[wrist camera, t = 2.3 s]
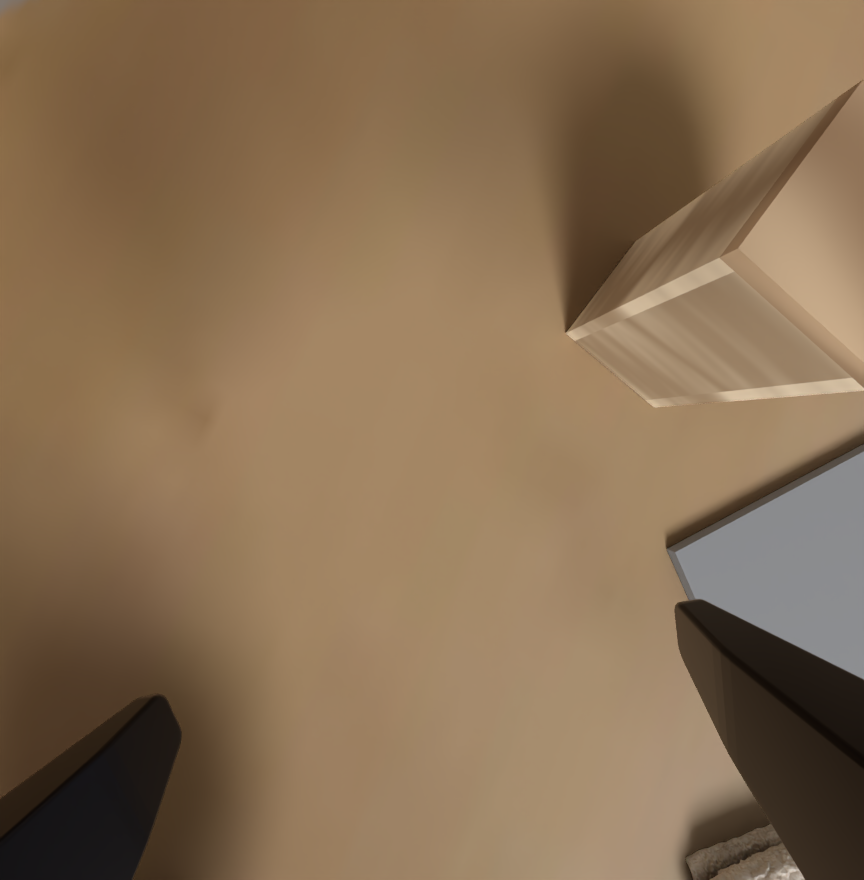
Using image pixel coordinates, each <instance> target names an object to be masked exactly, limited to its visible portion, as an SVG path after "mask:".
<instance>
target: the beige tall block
mask: <svg viewBox="0 0 864 880" xmlns="http://www.w3.org/2000/svg"><path fill="white" fill-rule="evenodd" d="M566 334H567V335H568V336H569V337H571V338H572V339H573V340H574V341H575V342H577V343H578V344H579V345H580V346H581V347H583V348H584V349H585V350H586V351H587V352H589V353H590V354H591V355H592V356H593V357H594V358H596V359H597V360H598V361H599V362H600V363H602V364H603V365H604V366H605V367H606V368H608V369H609V370H610V371H611V372H612V373H614V374H615V375H616V376H617V377H618V378H620V379H621V380H622V381H623V382H624V383H625V384H627V385H628V386H629V387H630V388H631V389H633V390H634V391H635V392H636V393H637V394H639V395H640V396H641V397H642V398H643V399H645V400H646V401H647V402H648V403H649V404H651V405H652V406H653V407H667V406H679V405H692V404H704V403H717V402H729V401H742V400H754V399H766V398H779V397H791V396H804V395H816V394H829V393H841V392H854V391H864V80H862V81H860V82H859V83H858V84H856V85H855V86H853V87H852V88H851V89H849V90H848V91H846V92H845V93H844V94H842V95H841V96H839V97H838V98H837V99H835V100H834V101H832V102H831V103H829V104H828V105H827V106H825V107H824V108H822V109H821V110H820V111H818V112H817V113H815V114H814V115H813V116H811V117H810V118H808V119H807V120H806V121H804V122H803V123H801V124H800V125H798V126H797V127H796V128H794V129H793V130H791V131H790V132H789V133H787V134H786V135H784V136H783V137H782V138H780V139H779V140H777V141H776V142H775V143H773V144H772V145H770V146H769V147H767V148H766V149H765V150H763V151H762V152H760V153H759V154H758V155H756V156H755V157H753V158H752V159H751V160H749V161H748V162H746V163H745V164H744V165H742V166H741V167H739V168H738V169H737V170H735V171H734V172H732V173H731V174H729V175H728V176H727V177H725V178H724V179H722V180H721V181H720V182H718V183H717V184H715V185H714V186H713V187H711V188H710V189H708V190H707V191H706V192H704V193H703V194H701V195H700V196H698V197H697V198H696V199H694V200H693V201H691V202H690V203H689V204H687V205H686V206H684V207H683V208H682V209H680V210H679V211H677V212H676V213H675V214H673V215H672V216H670V217H669V218H668V219H666V220H665V221H663V222H662V223H660V224H659V225H658V226H656V227H655V228H653V229H652V230H651V231H649V232H648V233H646V234H645V235H644V236H642V237H641V238H639V239H638V240H637V241H635V243H634V244H633V245H632V247H631V248H630V249H629V251H628V252H627V253H626V255H625V256H624V257H623V258H622V260H621V261H620V262H619V264H618V265H617V266H616V268H615V269H614V270H613V272H612V273H611V274H610V276H609V277H608V278H607V280H606V281H605V282H604V284H603V285H602V286H601V287H600V289H599V290H598V291H597V293H596V294H595V295H594V297H593V298H592V299H591V301H590V302H589V303H588V305H587V306H586V307H585V309H584V310H583V311H582V313H581V314H580V315H579V317H578V318H577V319H576V320H575V322H574V323H573V324H572V326H571V327H570V328H569V330H568V331H567V332H566Z"/></svg>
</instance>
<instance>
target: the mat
mask: <svg viewBox="0 0 864 880" xmlns="http://www.w3.org/2000/svg"><path fill="white" fill-rule="evenodd" d="M667 551H668V553H669V556H670V558H671V560H672V562H673V565H674V567H675V569H676V572H677V574H678V576H679V578H680V581H681V583H682V585H683V587H684V590H685V592H686V594H687V597H688V599H689V600H695V599H702V600H705V601H707V602H709V603H711V604H713V605H715V606H717V607H719V608H721V609H723V610H725V611H727V612H729V613H731V614H733V615H735V616H737V617H739V618H741V619H743V620H745V621H747V622H749V623H751V624H753V625H756V626H758V627H760V628H762V629H764V630H766V631H768V632H770V633H772V634H774V635H776V636H778V637H780V638H782V639H784V640H786V641H788V642H790V643H792V644H794V645H796V646H798V647H800V648H802V649H804V650H806V651H808V652H810V653H812V654H814V655H816V656H818V657H820V658H822V659H824V660H826V661H828V662H830V663H832V664H834V665H836V666H838V667H840V668H842V669H844V670H846V671H848V672H850V673H852V674H854V675H856V676H858V677H860V678H862V679H864V444H863V445H861V446H859V447H857V448H855V449H853V450H851V451H850V452H848V453H846V454H844V455H842V456H840V457H838V458H836V459H835V460H833V461H831V462H829V463H827V464H825V465H823V466H821V467H820V468H818V469H816V470H814V471H812V472H810V473H808V474H806V475H804V476H803V477H801V478H799V479H797V480H795V481H793V482H791V483H789V484H788V485H786V486H784V487H782V488H780V489H778V490H776V491H774V492H773V493H771V494H769V495H767V496H765V497H763V498H761V499H759V500H758V501H756V502H754V503H752V504H750V505H748V506H746V507H744V508H743V509H741V510H739V511H737V512H735V513H733V514H731V515H729V516H728V517H726V518H724V519H722V520H720V521H718V522H716V523H714V524H713V525H711V526H709V527H707V528H705V529H703V530H701V531H699V532H698V533H696V534H694V535H692V536H690V537H688V538H686V539H684V540H682V541H681V542H679V543H677V544H675V545H673V546H671V547H669V548H667Z"/></svg>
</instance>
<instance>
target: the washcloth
mask: <svg viewBox="0 0 864 880" xmlns="http://www.w3.org/2000/svg"><path fill="white" fill-rule="evenodd" d="M686 862H687V864H688V866H689V868H690V871H691V873H692V877H693V880H805V879H804V877H803V875H802V874H801V872H800V871H799V869H798V867H797V866H796V864H795V862H794V861H793V859H792V858H791V856H790V854H789V853H788V851H787V849H786V848H785V846H784V844H783V843H782V841H781V840H780V838H779V836H778V835H777V833H776V831H775V830H774V828H773V826H772V825H771V823H770V824H769V825H768V826H766V827H763V828H755V829H754V830H753V831H751V832H748V833H746V834H744V835H742V836H740V837H736V838H732V839H730V840H728V841H727V842H720V843H717V844H715V845H714V846H711V847H709V848H704V849H701V850H698V851H696V852H695V853H694V854H692V855H690V856H687V857H686Z"/></svg>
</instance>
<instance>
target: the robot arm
mask: <svg viewBox="0 0 864 880" xmlns="http://www.w3.org/2000/svg"><path fill="white" fill-rule="evenodd" d="M675 620H676V629H677V639H678V646H679V650H680V654H681V656H682V659H683V661H684V663H685V665H686V667H687V669H688V672H689V674H690V676H691V678H692V680H693V682H694V684H695V686H696V688H697V690H698V692H699V694H700V696H701V698H702V701H703V703H704V705H705V707H706V709H707V711H708V713H709V715H710V717H711V719H712V721H713V723H714V725H715V728H716V730H717V732H718V734H719V736H720V738H721V740H722V742H723V744H724V746H725V748H726V750H727V752H728V754H729V755H730V757H731V759H732V761H733V762H734V764H735V766H736V767H737V769H738V771H739V773H740V774H741V776H742V777H743V779H744V781H745V782H746V784H747V786H748V787H749V789H750V791H751V792H752V794H753V795H754V797H755V799H756V800H757V802H758V804H759V805H760V807H761V808H762V810H763V812H764V813H765V815H766V817H767V818H768V820H769V822H770V823H771V825H772V826H773V828H774V830H775V831H776V833H777V835H778V836H779V838H780V840H781V841H782V843H783V844H784V846H785V848H786V849H787V851H788V853H789V854H790V856H791V858H792V859H793V861H794V862H795V864H796V866H797V867H798V869H799V871H800V872H801V874H802V875H803V877H804V879H805V880H864V679H862V678H860V677H858V676H856V675H854V674H852V673H850V672H848V671H846V670H844V669H842V668H840V667H838V666H836V665H834V664H832V663H830V662H828V661H826V660H824V659H822V658H820V657H818V656H816V655H814V654H812V653H810V652H808V651H806V650H804V649H802V648H800V647H798V646H796V645H794V644H792V643H790V642H788V641H786V640H784V639H782V638H780V637H778V636H776V635H774V634H772V633H770V632H768V631H766V630H764V629H762V628H760V627H758V626H756V625H753V624H751V623H749V622H747V621H745V620H743V619H741V618H739V617H737V616H735V615H733V614H731V613H729V612H727V611H725V610H723V609H721V608H719V607H717V606H715V605H713V604H711V603H709V602H707V601H705V600H702V599H695V600H689V601H683V602H679V603H677V604H676V605H675ZM180 743H181V728H180V725H179V723H178V721H177V719H176V717H175V715H174V713H173V711H172V709H171V706H170V704H169V702H168V700H167V699H166V697H165V696H163V695H161V694H155V695H149V696H144V697H140V698H137V699H136V700H134V701H133V702H131V703H130V704H129V705H127V706H126V707H125V708H123V709H122V710H121V711H119V712H118V713H116V714H115V715H114V716H112V717H111V718H110V719H108V720H107V721H106V722H104V723H103V724H101V725H100V726H99V727H97V728H96V729H95V730H93V731H92V732H91V733H89V734H88V735H86V736H85V737H84V738H82V739H81V740H80V741H78V742H77V743H76V744H74V745H73V746H72V747H70V748H69V749H67V750H66V751H65V752H63V753H62V754H61V755H59V756H58V757H57V758H55V759H54V760H52V761H51V762H50V763H48V764H47V765H46V766H44V767H43V768H42V769H40V770H39V771H37V772H36V773H35V774H33V775H32V776H31V777H29V778H28V779H27V780H25V781H24V782H22V783H21V784H20V785H18V786H17V787H16V788H14V789H13V790H12V791H10V792H9V793H8V794H6V795H5V796H3V797H2V798H1V799H0V880H133V877H134V875H135V873H136V870H137V868H138V865H139V863H140V861H141V858H142V856H143V853H144V851H145V848H146V846H147V843H148V840H149V838H150V835H151V832H152V829H153V826H154V823H155V820H156V817H157V814H158V811H159V808H160V805H161V802H162V799H163V796H164V793H165V790H166V787H167V784H168V781H169V778H170V774H171V771H172V768H173V765H174V762H175V759H176V756H177V753H178V750H179V747H180Z"/></svg>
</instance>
